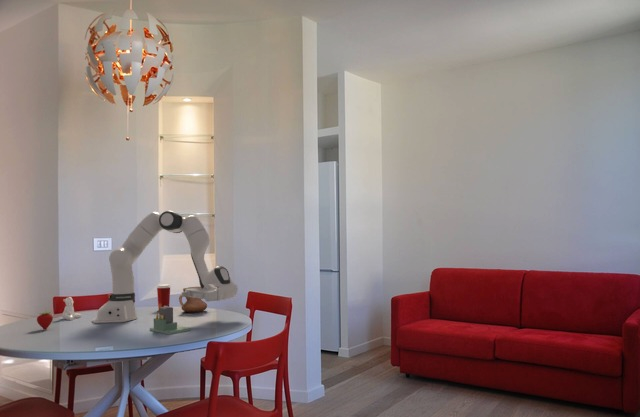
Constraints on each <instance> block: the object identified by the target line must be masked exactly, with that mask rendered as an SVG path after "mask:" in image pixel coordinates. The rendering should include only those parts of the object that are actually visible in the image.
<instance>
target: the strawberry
mask: <svg viewBox="0 0 640 417" xmlns="http://www.w3.org/2000/svg"><path fill="white" fill-rule="evenodd" d="M53 316H54V315H52V314H51V313H50V312H47V310H45V312H41V313H40V314H39V315H38V316H37V317H36V322H37V323H38V325H39V326H40V327H41V328H42V329H43V330H44V329H46V330H47V329H48V328H49V326H50V325H51V324H52V322H53V320H54V319H53V318H54V317H53Z"/></svg>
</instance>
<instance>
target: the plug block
mask: <svg viewBox="0 0 640 417" xmlns="http://www.w3.org/2000/svg"><path fill="white" fill-rule="evenodd" d="M159 315H163V319H164V320H166V324H167V323H173V322H174V307H173V306H170V305H169V306H164V307H160V308H159V309H158V316H159Z"/></svg>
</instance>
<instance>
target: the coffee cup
mask: <svg viewBox="0 0 640 417" xmlns="http://www.w3.org/2000/svg"><path fill="white" fill-rule="evenodd" d="M156 291H157V293H156V295H157V306H158V307H157V309H158V310H159V308H160V307H164V306H169V307H170V302H171V301H170V299H171V298H170V297H171V284H165V283H164V284H157V286H156Z"/></svg>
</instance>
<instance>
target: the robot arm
mask: <svg viewBox="0 0 640 417" xmlns="http://www.w3.org/2000/svg"><path fill="white" fill-rule="evenodd" d="M162 230H164V231H167V232H169V233H173V234H181V233H183V235H184V236H185V237H186V239H187V242H188V245H189V248H190V258H191V260H192V263H193V266H194V268H195V271H196V273H197V276H198V280H199V281H198V282H199V287H201V288H202V289H200V288H190V289H185V292H183V291H182V292H181V294H182V296H190V297H193V298H201V300H204V301H206V302H219V301H223V300H224V301H225V300H230V299H234V297H236V295H237V294H238V284H236V282H234V281H233V280H232V279H231V276H230V273H229V271H228V269H227V268H226V267H224V266H222V265H217V266H215V267H214V268H213V269H211V270H210V271H209V269H208V267H207V263H206V261H205V254H206V251H207V249H208V247H209V245H210V236H209V233H208V231H207V229H206V228H205V226H204V224H203V223H202V221H201V220H200V219H199V218H198V217H197V216H196V215H193V214H191V215H188V216H183V215H182V214H180V213H179V212H176V211H174V210H165V211H163V212H162V213H159V212H157V211H152V212H149V214H147V215H146V216H145V217H144V218H143V219H142V220H141V221H140V222H139V223H138V224H137V225H136V226H135V227H134V229H132V231H131V232H130V233H129V235H128V237H127V238H126V240H125V241H124V242H123V243H122V245H121V246H120V247H117V248H114V249H113V250H112V251H111V252H110V254H109V256H108V259H109V266H110V271H111V277H112V279H111V280H112V293H108V294H107V297H108V301H107V302H106V303H104V304H103V305H102V306H101V307H99V309H98V310H97V314H96V317H94V318H93V319H92V323H94V324H98V323H99V324H101V323H103V324H104V323H105V324H107V323H124V322H125V323H126V322H128V321H133V320H137V319H138V316H137V311H136V306H135V305H136V304H135V303H136V293H135V276H134V272H133V265H134V263H135V262H136V261H137V260H138V258H140V257H141V254H142V253H143V252H144V251H145V249H146V248H147V246H148V245H149V244H150V243H151V242H152V241H153V240H154V238H155V237H156V236H157V235H158V234H159V233H160V232H161V231H162Z"/></svg>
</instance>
